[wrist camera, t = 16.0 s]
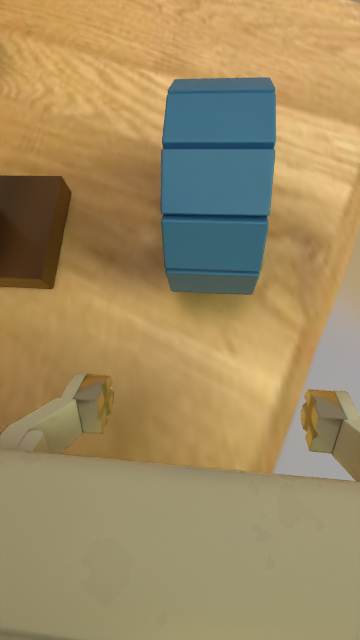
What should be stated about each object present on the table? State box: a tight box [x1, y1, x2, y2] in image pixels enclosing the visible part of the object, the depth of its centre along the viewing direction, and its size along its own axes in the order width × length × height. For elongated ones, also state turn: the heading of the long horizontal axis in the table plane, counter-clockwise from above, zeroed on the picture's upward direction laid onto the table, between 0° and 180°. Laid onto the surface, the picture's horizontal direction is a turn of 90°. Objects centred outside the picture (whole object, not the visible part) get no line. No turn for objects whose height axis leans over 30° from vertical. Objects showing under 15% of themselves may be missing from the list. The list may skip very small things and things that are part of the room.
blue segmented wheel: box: [161, 78, 276, 295], centre depth 18 cm, size 4×10×10 cm, turn 175°
